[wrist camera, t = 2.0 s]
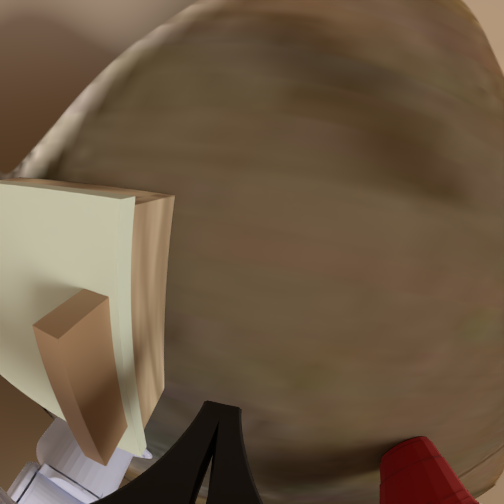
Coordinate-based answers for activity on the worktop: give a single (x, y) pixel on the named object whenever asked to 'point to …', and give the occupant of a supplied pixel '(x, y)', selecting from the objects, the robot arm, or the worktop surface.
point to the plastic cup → (419, 476)
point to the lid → (71, 310)
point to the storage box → (143, 284)
